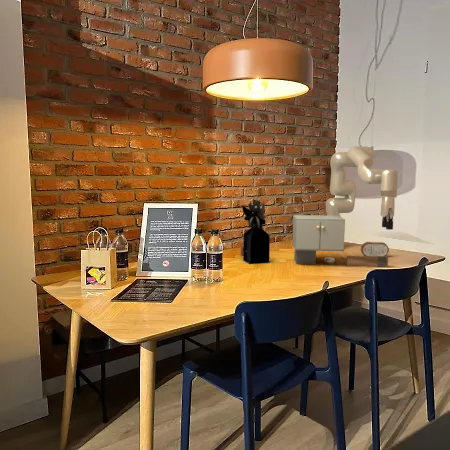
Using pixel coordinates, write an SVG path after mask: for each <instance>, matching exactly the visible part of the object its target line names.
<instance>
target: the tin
mask: <svg viewBox="0 0 450 450" xmlns="http://www.w3.org/2000/svg"><path fill="white" fill-rule="evenodd" d="M360 251H361V254H362V256H387V255H388V254H389V251H390V248H389V246H388V245H387V244H386V243H385V242H383V241H366V242H364V243H363V244H361V247H360Z"/></svg>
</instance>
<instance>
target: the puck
mask: <svg viewBox="0 0 450 450" xmlns="http://www.w3.org/2000/svg"><path fill="white" fill-rule="evenodd" d="M324 263H326V264H334V263H335V257H332V256H331V257H330V256H329V257H327V256H326V257H324Z"/></svg>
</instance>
